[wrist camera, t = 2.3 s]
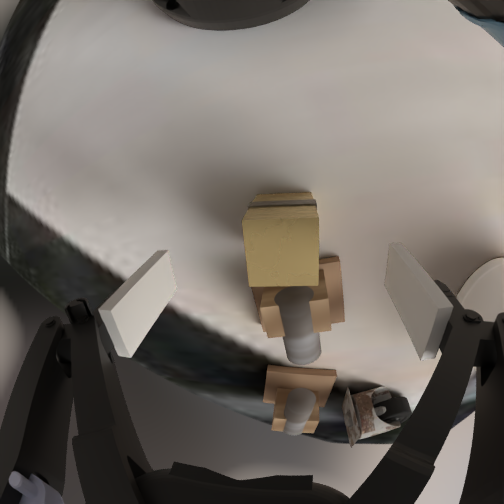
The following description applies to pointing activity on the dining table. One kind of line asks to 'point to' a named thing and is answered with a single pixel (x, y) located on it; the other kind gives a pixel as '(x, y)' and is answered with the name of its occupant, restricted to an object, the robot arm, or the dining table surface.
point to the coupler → (282, 240)
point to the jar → (485, 290)
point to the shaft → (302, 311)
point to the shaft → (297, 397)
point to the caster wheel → (373, 413)
